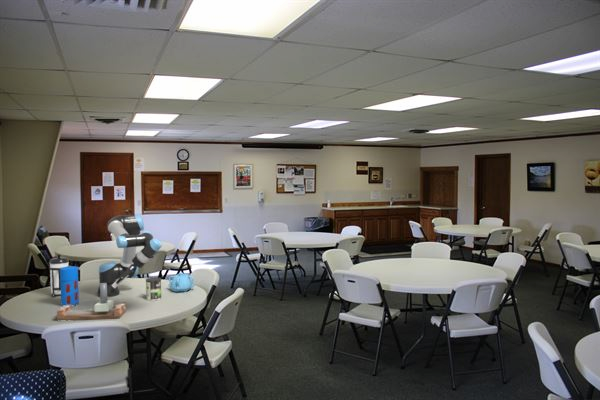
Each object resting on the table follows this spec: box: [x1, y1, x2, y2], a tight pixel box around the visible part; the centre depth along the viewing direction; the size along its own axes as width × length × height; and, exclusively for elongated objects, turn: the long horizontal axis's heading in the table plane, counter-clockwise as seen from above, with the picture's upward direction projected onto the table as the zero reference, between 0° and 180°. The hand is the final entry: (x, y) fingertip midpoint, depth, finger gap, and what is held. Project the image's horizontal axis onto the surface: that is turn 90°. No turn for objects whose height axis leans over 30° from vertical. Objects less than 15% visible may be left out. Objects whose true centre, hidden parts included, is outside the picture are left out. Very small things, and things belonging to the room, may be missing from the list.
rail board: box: [56, 302, 127, 322], centre depth 282 cm, size 14×38×7 cm, turn 96°
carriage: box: [94, 283, 114, 312], centre depth 282 cm, size 10×8×16 cm
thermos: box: [60, 265, 80, 306], centre depth 309 cm, size 11×11×25 cm
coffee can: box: [145, 277, 162, 302], centre depth 321 cm, size 10×10×14 cm
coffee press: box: [48, 253, 70, 296], centre depth 334 cm, size 17×16×30 cm
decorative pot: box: [167, 272, 195, 293], centre depth 344 cm, size 16×16×14 cm
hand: (116, 284), depth 282 cm, fingers open, 13 cm apart
